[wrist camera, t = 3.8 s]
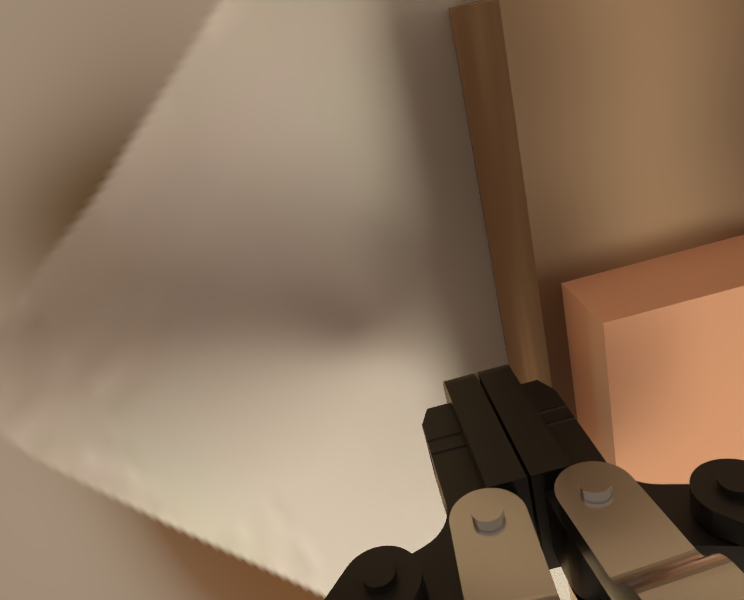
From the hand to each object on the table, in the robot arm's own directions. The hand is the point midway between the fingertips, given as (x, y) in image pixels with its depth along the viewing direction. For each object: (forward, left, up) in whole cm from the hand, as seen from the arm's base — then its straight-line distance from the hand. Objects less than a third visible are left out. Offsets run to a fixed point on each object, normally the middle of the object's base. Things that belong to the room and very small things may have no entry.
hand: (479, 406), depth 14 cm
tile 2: (-5, 0, 0) cm, 5 cm away
